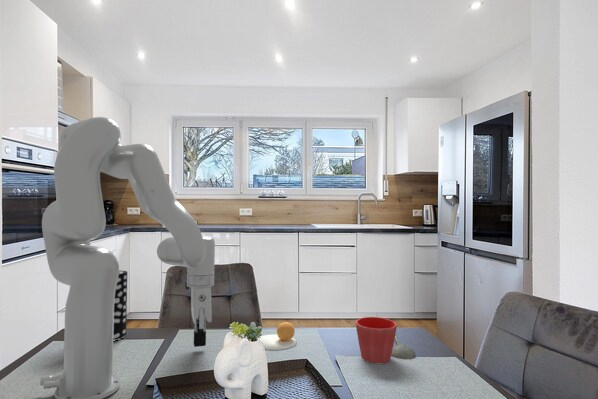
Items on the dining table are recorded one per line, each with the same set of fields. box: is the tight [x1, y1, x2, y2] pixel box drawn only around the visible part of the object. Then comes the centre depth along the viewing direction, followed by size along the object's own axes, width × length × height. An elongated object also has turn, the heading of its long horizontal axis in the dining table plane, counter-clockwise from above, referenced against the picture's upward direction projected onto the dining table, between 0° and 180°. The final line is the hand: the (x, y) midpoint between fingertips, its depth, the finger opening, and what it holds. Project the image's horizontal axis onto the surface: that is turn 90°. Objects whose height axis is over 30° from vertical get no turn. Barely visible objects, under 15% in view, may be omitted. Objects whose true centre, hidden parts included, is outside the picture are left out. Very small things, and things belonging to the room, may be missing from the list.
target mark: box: [259, 334, 297, 351], centre depth 115 cm, size 13×13×1 cm
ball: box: [276, 321, 295, 341], centre depth 117 cm, size 6×6×6 cm
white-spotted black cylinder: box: [113, 270, 128, 339], centre depth 118 cm, size 8×8×20 cm
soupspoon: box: [391, 334, 416, 360], centre depth 114 cm, size 22×3×7 cm
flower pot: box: [355, 316, 398, 364], centre depth 104 cm, size 11×11×10 cm
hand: (199, 345), depth 108 cm, fingers closed
